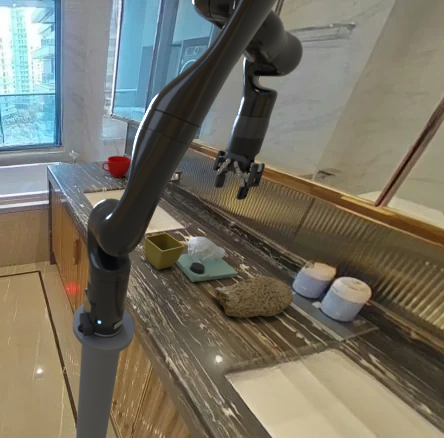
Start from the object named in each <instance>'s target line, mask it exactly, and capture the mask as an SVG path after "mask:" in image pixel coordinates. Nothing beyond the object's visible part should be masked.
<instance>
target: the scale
mask: <svg viewBox="0 0 444 438" xmlns="http://www.w3.org/2000/svg"><path fill="white" fill-rule="evenodd" d="M197 258H198V259H199V260H200V261H201V264H202V265H204V267H205V269H204V272H203V273H202V274H196V273H194V272H192V271H191V269H190V268H191V265H192V263H194V262H195V261H194V260H193V258H192V257H191V256H190V255H189V254H188V253H181V256H180V258H179V259H178V261H177V262H176V263H175V264H176V266H178V267H179V269H180V270H181V271H182V272H183V273H184V274H185V276H187V277H188V279H189V280H190V281H191V282H192V283H197V282H204V281H212V280H219V279H227V278H235V277H238V275H239V272H238V271H236V270H235V268H233V267H232V266H231V265H230V264H229V263H227V261H225V260H224V259H223V258H221V260H217V259H214V258H212V259H210V260H207V261H204V262H203V261H202V259H203V258H204V256H202V255H201V256H198V257H197Z"/></svg>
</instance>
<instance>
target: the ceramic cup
mask: <svg viewBox="0 0 444 438" xmlns="http://www.w3.org/2000/svg"><path fill="white" fill-rule="evenodd" d="M105 165H107V169H106V168H105ZM130 167H131V158H130V157H127V156H123V155H113V156H109V157H108V158H107V162H106V161H105V162H103V163H102V164H101V168H102V170H103V171H105V172H108V173H109V174H110V175H111V176H112V178H113V177H114V178H119V179H120V178H123V177H124V176H125V175H126V174H127V173H128V172H129V171H130Z"/></svg>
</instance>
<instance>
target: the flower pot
mask: <svg viewBox="0 0 444 438" xmlns="http://www.w3.org/2000/svg"><path fill="white" fill-rule="evenodd" d="M185 247H186V246H185V244H183V243H182V242H180V240H178V239H176V238H174V236H173V235H170V234H169V233H168V232H161V233H157V234H153V235H147V236H145V237H144V254H145V257H146V259H147V261H148V262H149V264H151V265H152V266H153V267H154V268H155V269H157V270H158V271H159V270H163V269H166V268H170V267H172V266H173V265H175V264H176V262H177V261H178V259H179V258H180V256H181V254H183V251H184V249H185Z"/></svg>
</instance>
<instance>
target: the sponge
mask: <svg viewBox="0 0 444 438" xmlns="http://www.w3.org/2000/svg"><path fill="white" fill-rule="evenodd" d="M214 295H215V298H216V299H217V300H218V302H219V304H220V306H222V307H223V309H224V313H225V315H226V316H229V317H233V318H239V319H242V318H254V317H257V316H258V317H273V316H276V315H277V314H281V313H282V312H283V311H284V310H285V309H287V308H288V307H290V305H291V304H292V303H293V298H294V297H293V296H294V295H293V291H292V290H291V288H290V286H289V285H288V284H287V283H285V282H283V281H282V280H279V279H276V278H275V277H273V276H263V275H259V276H255V277H250V278H247V279H245V280H241V281H238V282H237V283H235V284H233V285H226V286H223V287H219V286H217V287H215V288H214Z"/></svg>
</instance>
